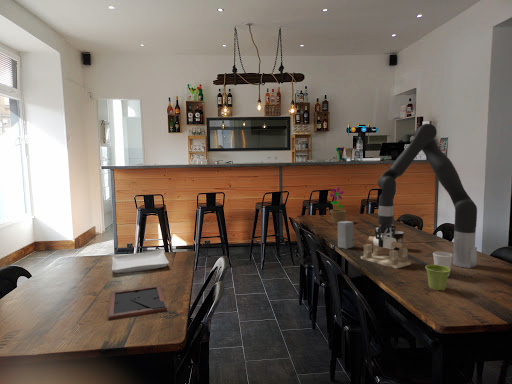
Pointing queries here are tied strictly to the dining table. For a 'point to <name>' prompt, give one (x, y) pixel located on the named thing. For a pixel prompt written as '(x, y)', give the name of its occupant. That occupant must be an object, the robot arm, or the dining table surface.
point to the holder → (386, 260)
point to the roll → (386, 242)
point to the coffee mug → (398, 237)
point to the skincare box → (345, 234)
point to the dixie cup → (443, 259)
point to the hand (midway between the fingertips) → (384, 245)
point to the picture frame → (136, 302)
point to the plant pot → (437, 276)
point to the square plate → (139, 262)
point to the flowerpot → (338, 214)
